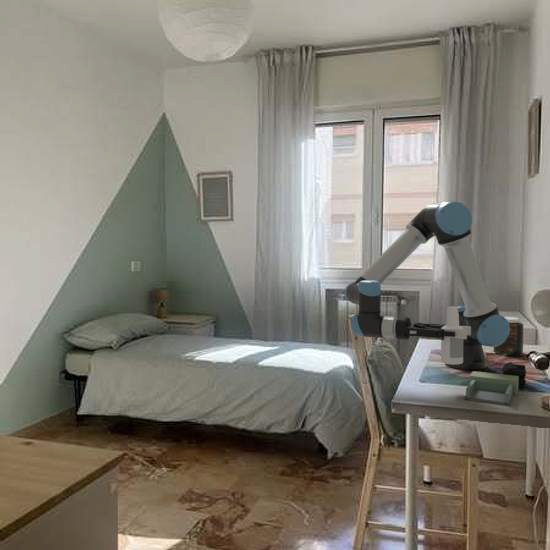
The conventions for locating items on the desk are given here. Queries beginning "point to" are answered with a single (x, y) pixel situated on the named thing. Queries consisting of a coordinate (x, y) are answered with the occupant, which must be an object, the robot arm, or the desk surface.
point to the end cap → (516, 373)
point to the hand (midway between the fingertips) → (468, 332)
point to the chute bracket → (492, 388)
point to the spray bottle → (452, 339)
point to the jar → (512, 339)
